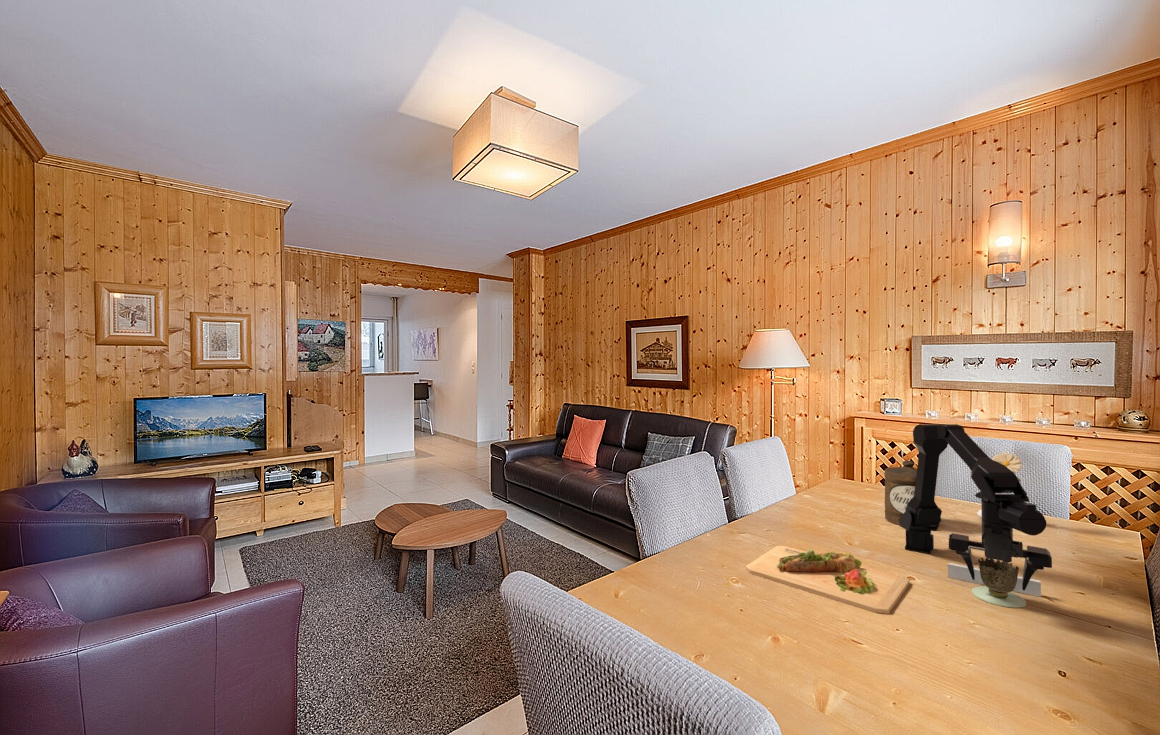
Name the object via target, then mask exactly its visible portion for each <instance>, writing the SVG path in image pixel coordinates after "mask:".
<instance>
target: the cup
mask: <svg viewBox="0 0 1160 735" xmlns="http://www.w3.org/2000/svg"><path fill="white" fill-rule="evenodd" d="M977 560H978V569H980V575H981V579H982V581H983V583H984V587H988V588H989V590H988V591H989V593H990V594H991V595H992V596H994V597H997V598H1007V597H1008V592H1011V593H1012V592H1014V591H1013V590H1014V589H1015V586H1016V583H1017V577H1019V569H1020V568H1019V566H1015V567H1014V566H1013V563H1012V562H1004V561H1001V560H996V561H995V559H993V560H992V559H988V558H986V557H985V559H984V558H983V557H982V558H981V559H980V558H978V559H977Z"/></svg>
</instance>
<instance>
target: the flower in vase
mask: <svg viewBox="0 0 1160 735" xmlns="http://www.w3.org/2000/svg"><path fill="white" fill-rule="evenodd" d="M991 459H992V460H994V461H996V462H998V463H1001V464H1003V465H1005V466H1006V467H1007V468H1008V469H1010V470H1011V471H1012V472H1014V474H1017V473H1019V472H1020V470H1021V469H1022V467H1023V463H1022V460H1021V459H1020V457H1019V456H1017V455H1014V454H1013V453H1008V452H1004V453H1003V452H1000V453H999V454H995V455H994V456H993V457H992V458H991ZM1017 478H1018V480H1019V482H1022V480H1021V479H1020V478H1019V477H1018V476H1017ZM995 494H1003V493H995ZM976 515H977V517H978V518H980V519H982V508H980V509H979V510H978V511H977V512H976Z"/></svg>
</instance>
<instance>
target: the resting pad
mask: <svg viewBox="0 0 1160 735" xmlns="http://www.w3.org/2000/svg"><path fill="white" fill-rule="evenodd" d="M988 590H989V588H988V587H986V586H976V587H972V588H971V593H972V595H973V596H974V597H975V598H977V599H979V600H981V601H983V602H985V603H989V604H991V605H995V606H999V607H1003V608H1011V609H1012V608H1013V609H1019V608H1020V609H1022V608H1024V607H1026V606H1027V601H1026V600H1025V599H1024V598H1023V597H1021V596H1020V595H1018V594H1016V593H1014V592H1012V591H1011V592H1008V597H1007V598H997V597H994V596H992V595H991V594H990V593H989V591H988Z"/></svg>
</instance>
